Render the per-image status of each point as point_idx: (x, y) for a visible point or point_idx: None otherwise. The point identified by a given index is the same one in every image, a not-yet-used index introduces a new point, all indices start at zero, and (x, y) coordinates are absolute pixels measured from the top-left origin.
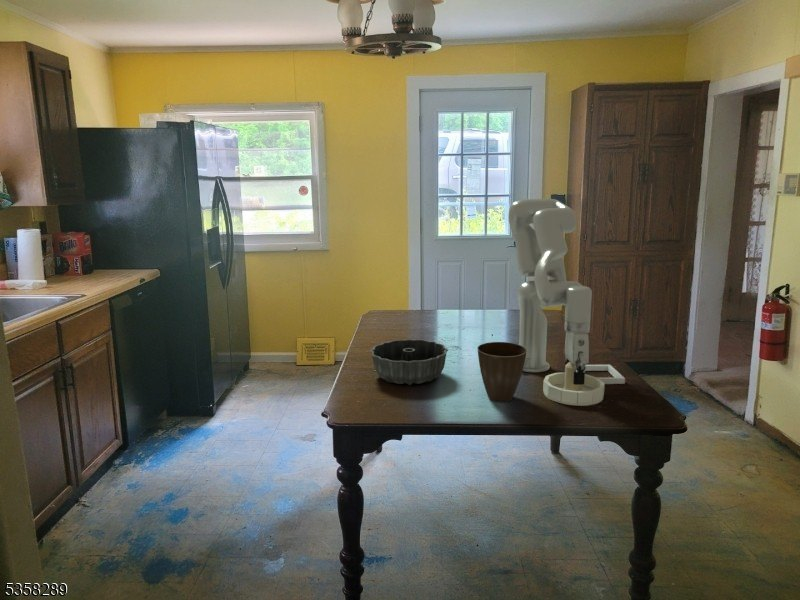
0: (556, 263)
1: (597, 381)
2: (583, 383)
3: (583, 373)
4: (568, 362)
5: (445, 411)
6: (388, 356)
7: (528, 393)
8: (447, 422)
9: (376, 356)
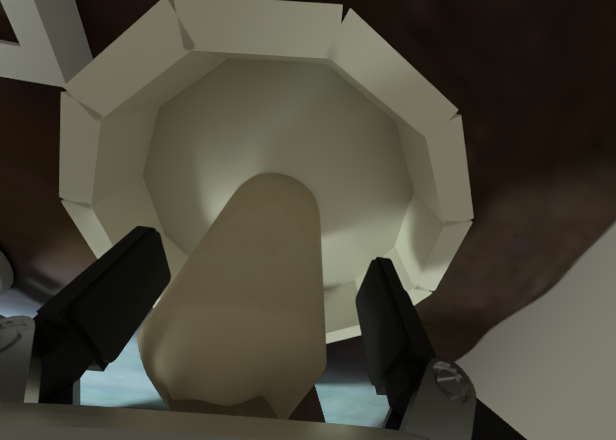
0: None
1: (260, 55)
2: (389, 263)
3: (418, 343)
4: None
5: (331, 422)
6: None
7: None
8: (375, 426)
9: None
